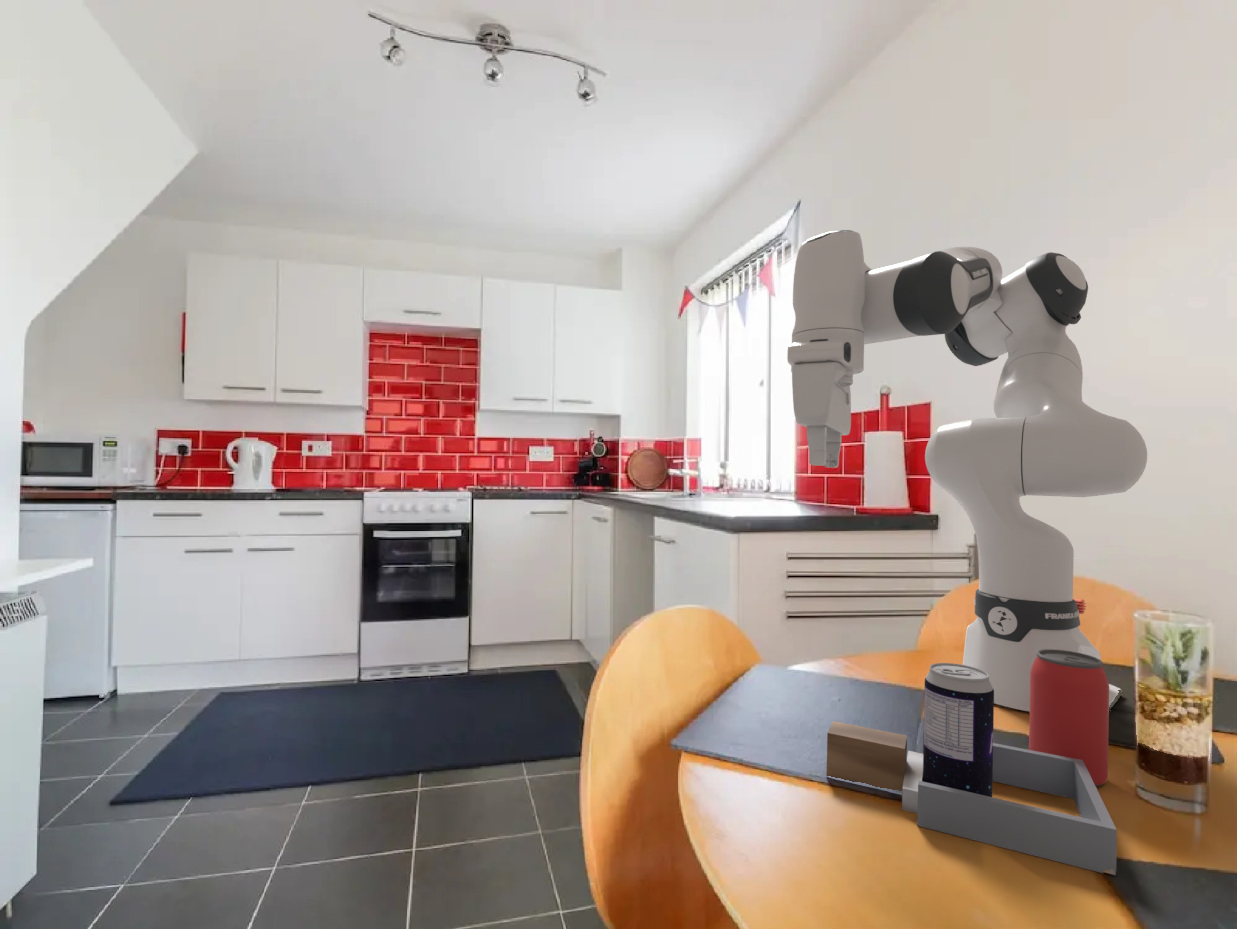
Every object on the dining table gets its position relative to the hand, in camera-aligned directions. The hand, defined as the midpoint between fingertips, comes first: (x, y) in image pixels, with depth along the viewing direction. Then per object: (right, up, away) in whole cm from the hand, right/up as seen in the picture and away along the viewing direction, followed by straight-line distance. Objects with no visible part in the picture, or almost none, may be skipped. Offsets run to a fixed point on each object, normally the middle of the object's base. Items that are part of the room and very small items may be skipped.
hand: (824, 466), depth 80 cm
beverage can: (+5, -31, -22) cm, 38 cm away
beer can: (+20, -32, -16) cm, 41 cm away
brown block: (-2, -31, -18) cm, 36 cm away
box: (+8, -31, -24) cm, 40 cm away
